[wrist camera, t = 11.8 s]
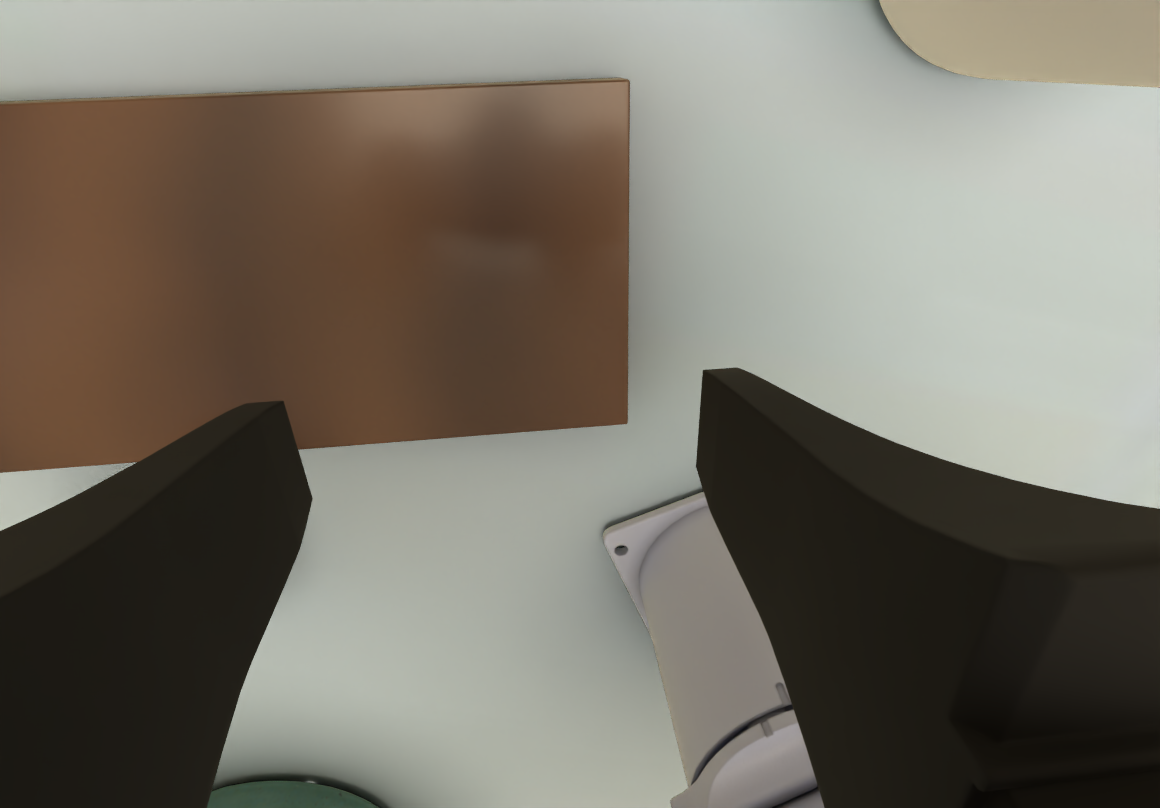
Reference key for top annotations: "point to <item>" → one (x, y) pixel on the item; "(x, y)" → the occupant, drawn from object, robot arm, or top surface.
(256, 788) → the flower pot
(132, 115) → the cutting board
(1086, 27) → the mug
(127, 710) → the robot arm
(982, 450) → the top surface
